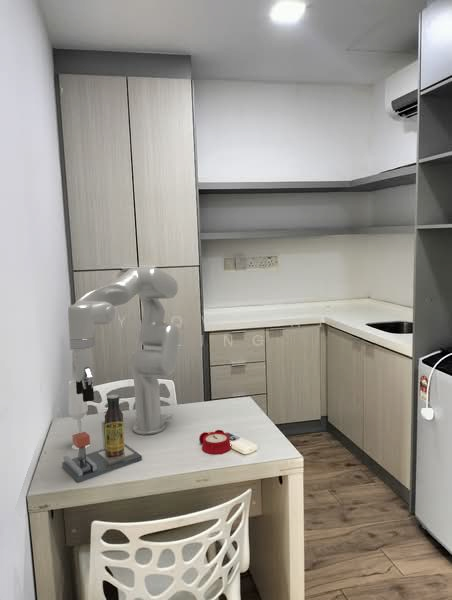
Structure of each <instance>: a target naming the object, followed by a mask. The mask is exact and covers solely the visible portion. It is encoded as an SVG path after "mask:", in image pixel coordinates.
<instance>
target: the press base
mask: <svg viewBox="0 0 452 600" xmlns="http://www.w3.org/2000/svg"><path fill="white" fill-rule="evenodd" d="M100 423H101V433H102V434H101V435H102V436H101V437H102V445H103V447H102V449H100V450H95V451H92V452H89V453H87V454H86V462H87V463H88V464H89V465H90V468H91V470H90V471H87V472H84V473H82V469H81V468H80V467H79V466H78V465H77V464H76V463H77V462H80V458H79V451H77V457H74V458H71V457H70V456H69V455H63V460H64V461H62V462H61V466H62V468H63V469H64V470H65V471H66V472H67V473H68V474H69V475H70V476H71V477H72V479H74V481H75V482H76V483H78V484H79V483H83V482H85V481H86V480H91V479H93V478H96V477H98V476H101V475H104V474H107V473H110V472H112V471H115V470H118V469H121V468H123V467H127V466H129V465H132V464H134V463H138V462H140V461H143V455H141V454H140V453H138V451H136V450H135V449H133V448H131V447H130V446H129V445H127V444H126V443H124V452H123V453H122V454H120V455H117V456H109V455H107V454H106V449H105V420H102V421H101V422H100Z"/></svg>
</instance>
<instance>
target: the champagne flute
mask: <svg viewBox="0 0 452 600" xmlns="http://www.w3.org/2000/svg"><path fill="white" fill-rule="evenodd" d="M77 382H78V381H77ZM87 402H88V401H87ZM87 402H84V401H83V394H77V393H76V380H75V379H74V380H70V381H69V382H68V414H69V416H70V417H71V418H72V419H74V420H75V421H77V434H78V433H81V432H83V431H82V421H81V420H83V418H85V416H86V415H87V413H88V411H89V407H88V403H87ZM90 446H91V442H90V445H87V446H85V449H87V448H88V447H90ZM71 449H73V450H79V448H77V447H76V446H75V445H74V444H73V443H72V445H71Z"/></svg>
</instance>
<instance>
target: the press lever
mask: <svg viewBox="0 0 452 600" xmlns="http://www.w3.org/2000/svg"><path fill="white" fill-rule="evenodd" d="M71 435H72V445H73V444H74V445H75V446H76V447H77V448H79V449H78V452H79V458H80V462H77V463H76V464H77V465H78V466H79V467H80V468H81V469H82V473H84V472H87V471H90V470H91V468H90V465H89V464H88V463H87V462H86V455H87V454H86V453H87V452H86V448H85V446H87V445H90V446H91V444H90V443H91V438H90V437H91V436H90V434H88V433H87V432H86V431H82V432H81V433H78V432H77V433H75V434H71Z"/></svg>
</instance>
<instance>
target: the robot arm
mask: <svg viewBox="0 0 452 600" xmlns="http://www.w3.org/2000/svg"><path fill="white" fill-rule="evenodd" d="M178 290H179V286H178V282H177V280H176V279H175V277H173V276H172V275H171V274H169V273H167V272H166V271H164V270H161V269H160V268H158V267H154V266H148V267H147V266H145V267H143V266H141V267H139V266H138V267H132V268H129V269H128V270H127V271H126V272H124V273H123V274H121V276H119V277H118V278H117V279H116V280H114V281H112V283H109V284H106V285H103V286H102V287H98V288H97V289H95V290H94V289H93V290H91V291H89V292H88V293H86V294H83V296H81V297H80V298H79V299H78V300H77V301H75V302H74V304H71V305H69V306H68V310H67V314H68V315H67V316H68V317H67V318H68V335H69V336H68V337H69V338H68V339H69V350H71V351H72V353H71V361H72V362H71V365H72V366H71V367H72V368H71V369H72V370H71V371H72V374H71V375H72V377H73V379H74V380H76V393H77V394H83V401H84V402H93V401H94V400H95V394H94V392H95V391H94V384H93V383H94V382H93V381H94V378H95V371H94V368H95V367H94V356H93V349H95V348H96V339H95V326H97V325H109V324H110V323H112V321H113V320H114V319H115V317H116V309H115V307H118V306H121V305H124V304H126V303H128V302H130V301H131V300H132V299H133V298H134V297H135V296H136V295H138V298H139V300H140V301H141V304H142V308H143V311H142V318H141V323H140V329H139V334H138V341H139V344H141V346H145V347H149V348H152V347H153V348H161V350H160V349H146V348H145V349H144V348H141V349H137V350H135V351H133V353H131V355H130V357H129V366H130V370H131V374H132V379H133V386H134V387H133V388H134V400H135V401H134V402H135V403H134V404H135V405H134V406H135V418H136V423H135V424H134V425H133V427H132V431H133V433H135V434H137V435H143V436H147V435H149V436H150V435H155V434H158V433H161V432H162V431H164V430H165V429H166V423H165V422H166V421H168V420H171V419H173V415H172V414H171V413H170V414H166V413H163V414H162V413H161V412H162V410H161V408H162V407H161V395H160V394H161V393H160V382H159V380H158V377H157V376H159V377H168V376H170V375H172V373H174V370H175V366H176V361H177V356H178V351H179V350H178V348H179V343H180V331H179V328H178V326H177V325H176V324H174V323H171V322H165V314H166V313H165V312H166V311H165V307H164V306H163V304H162V303H161V300H163V299H167V300H168V299H173V298H174V297H175V296H176V295H177V294H178ZM160 299H161V300H160ZM77 381H78V382H77Z"/></svg>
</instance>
